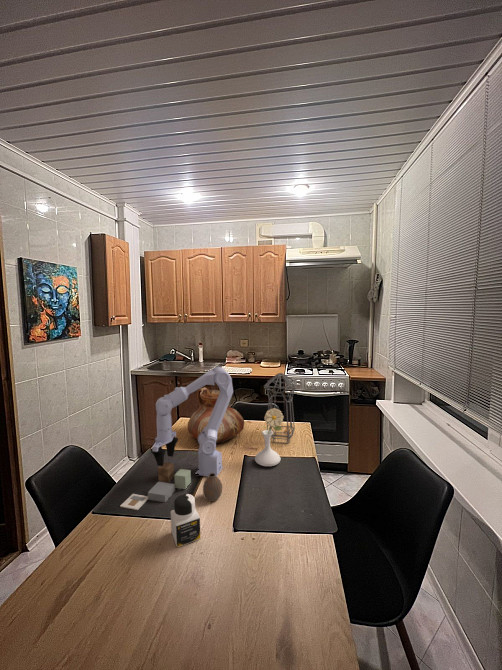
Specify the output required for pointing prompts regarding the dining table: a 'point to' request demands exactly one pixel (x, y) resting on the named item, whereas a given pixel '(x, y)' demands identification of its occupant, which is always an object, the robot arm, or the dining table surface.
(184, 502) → the medicine bottle
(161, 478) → the walnut block
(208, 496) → the brown coconut
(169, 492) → the grey square block
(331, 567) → the dining table surface
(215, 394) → the jug
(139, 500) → the card
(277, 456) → the flower in vase
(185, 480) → the sage block
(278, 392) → the geometric lantern
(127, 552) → the dining table surface
